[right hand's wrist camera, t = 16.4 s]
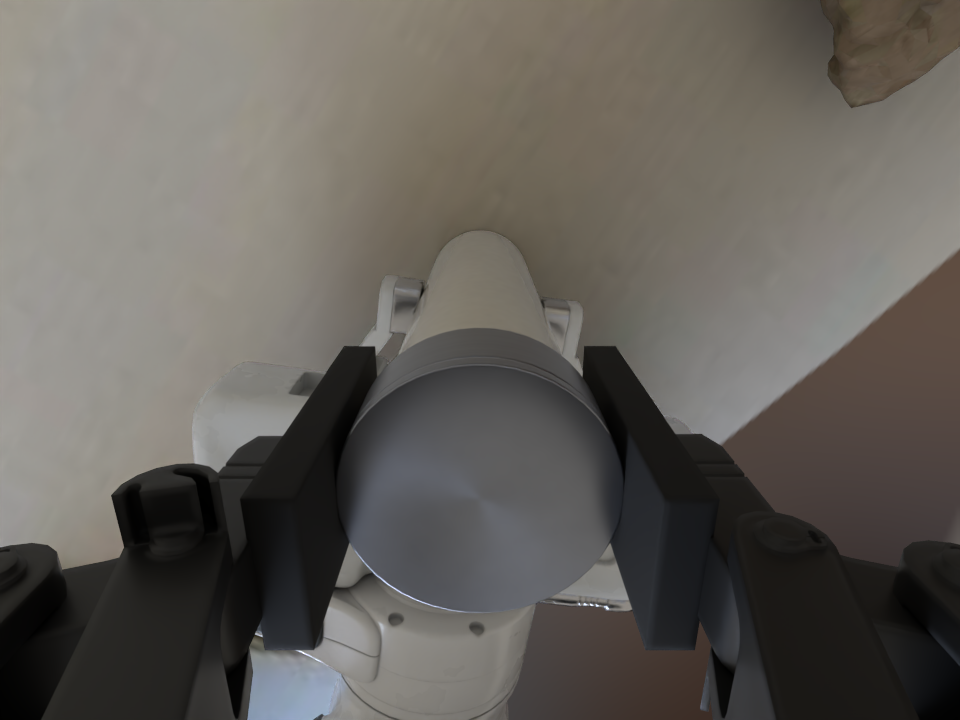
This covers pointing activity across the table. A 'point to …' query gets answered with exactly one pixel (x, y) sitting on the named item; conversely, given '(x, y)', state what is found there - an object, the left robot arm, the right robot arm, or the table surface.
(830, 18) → the stone
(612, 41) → the table surface
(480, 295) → the cream cylindrical bottle
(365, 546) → the lid
